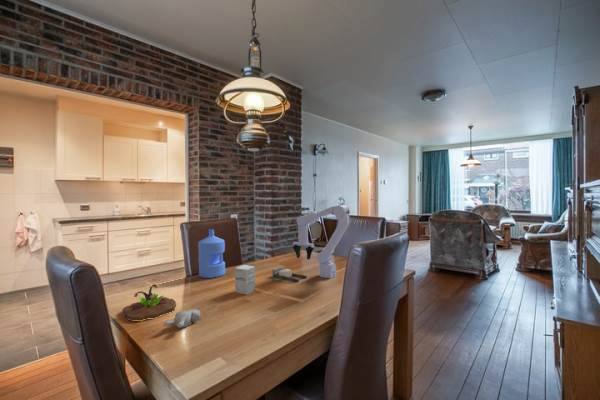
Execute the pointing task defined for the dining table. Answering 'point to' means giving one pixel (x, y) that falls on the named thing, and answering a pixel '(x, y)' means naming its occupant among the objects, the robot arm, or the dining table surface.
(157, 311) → the plant
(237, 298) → the dining table surface
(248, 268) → the supplement box
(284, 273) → the white block with bar
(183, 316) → the bunny figurine
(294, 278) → the gauge board
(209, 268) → the water jug
